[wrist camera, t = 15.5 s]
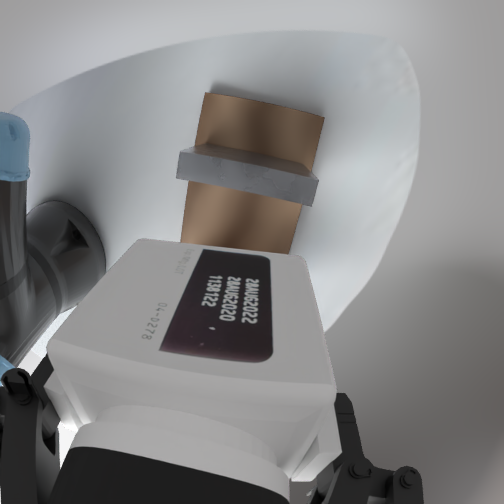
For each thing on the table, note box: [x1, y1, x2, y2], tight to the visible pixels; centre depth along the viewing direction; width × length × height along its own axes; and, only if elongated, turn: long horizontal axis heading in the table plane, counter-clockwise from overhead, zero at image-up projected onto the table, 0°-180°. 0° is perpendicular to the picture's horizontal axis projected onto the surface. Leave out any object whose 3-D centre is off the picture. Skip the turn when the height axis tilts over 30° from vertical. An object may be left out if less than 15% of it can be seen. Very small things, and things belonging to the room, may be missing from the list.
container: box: [46, 239, 337, 504], centre depth 9 cm, size 8×8×13 cm
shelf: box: [180, 92, 325, 254], centre depth 31 cm, size 12×21×2 cm, turn 168°
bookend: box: [176, 143, 319, 207], centre depth 24 cm, size 10×2×9 cm, turn 78°
